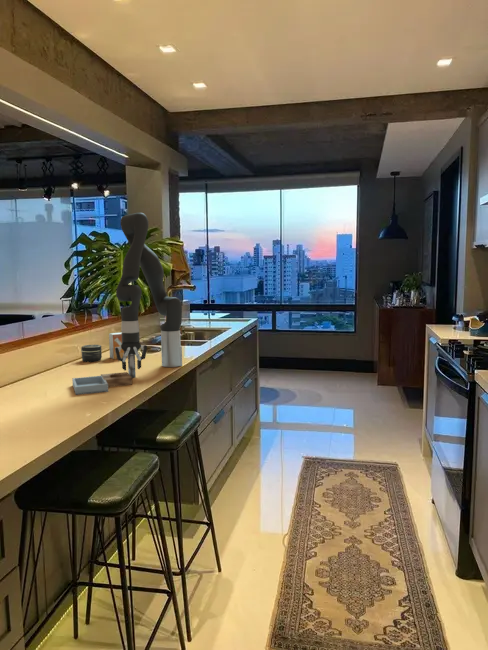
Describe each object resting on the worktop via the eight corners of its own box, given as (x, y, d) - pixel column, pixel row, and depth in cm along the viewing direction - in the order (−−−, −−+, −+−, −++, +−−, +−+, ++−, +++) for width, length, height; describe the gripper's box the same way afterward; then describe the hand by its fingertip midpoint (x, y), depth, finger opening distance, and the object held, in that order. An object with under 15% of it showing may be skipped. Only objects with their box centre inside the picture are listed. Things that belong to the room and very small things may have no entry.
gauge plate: (127, 378, 216) (127, 372, 215) (131, 384, 205) (131, 377, 205) (101, 381, 211) (100, 374, 211) (104, 387, 201) (104, 380, 201)
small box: (113, 359, 260) (112, 334, 258) (109, 357, 265) (108, 333, 263) (128, 357, 264) (127, 333, 262) (124, 355, 269) (123, 331, 268)
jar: (106, 359, 260) (105, 344, 259) (94, 363, 251) (93, 348, 250) (89, 358, 264) (89, 343, 263) (77, 361, 254) (76, 347, 253)
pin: (134, 376, 221) (134, 353, 220) (136, 377, 218) (135, 354, 217) (128, 376, 220) (127, 354, 218) (129, 378, 217) (128, 355, 216)
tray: (103, 382, 209) (102, 375, 209) (108, 391, 195) (107, 384, 194) (72, 385, 205) (72, 378, 204) (75, 394, 190) (75, 387, 190)
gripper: (145, 329, 222) (146, 366, 225) (112, 331, 217) (113, 369, 219) (148, 331, 216) (150, 369, 218) (114, 333, 210) (116, 372, 212)
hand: (131, 369), depth 218 cm, fingers open, 5 cm apart
